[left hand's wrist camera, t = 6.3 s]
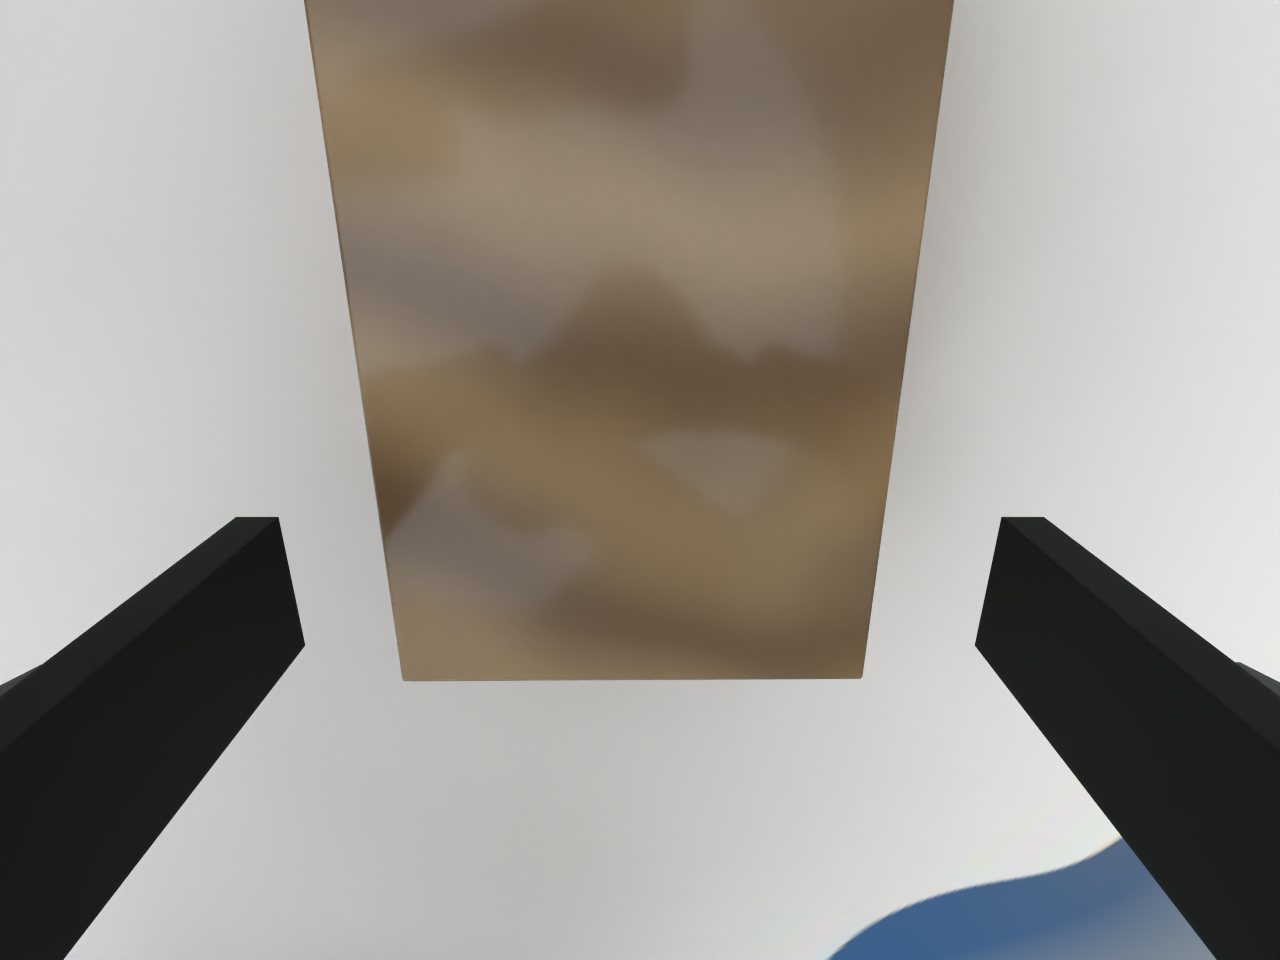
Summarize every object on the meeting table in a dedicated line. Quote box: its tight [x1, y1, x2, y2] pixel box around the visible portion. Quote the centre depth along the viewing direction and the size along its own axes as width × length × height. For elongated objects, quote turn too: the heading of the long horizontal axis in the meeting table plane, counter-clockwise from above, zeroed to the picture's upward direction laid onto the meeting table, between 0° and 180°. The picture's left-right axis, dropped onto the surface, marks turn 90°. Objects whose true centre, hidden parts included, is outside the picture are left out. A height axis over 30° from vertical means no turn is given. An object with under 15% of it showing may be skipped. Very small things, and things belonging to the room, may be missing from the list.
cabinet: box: [304, 0, 954, 681], centre depth 17 cm, size 16×10×8 cm, turn 0°
